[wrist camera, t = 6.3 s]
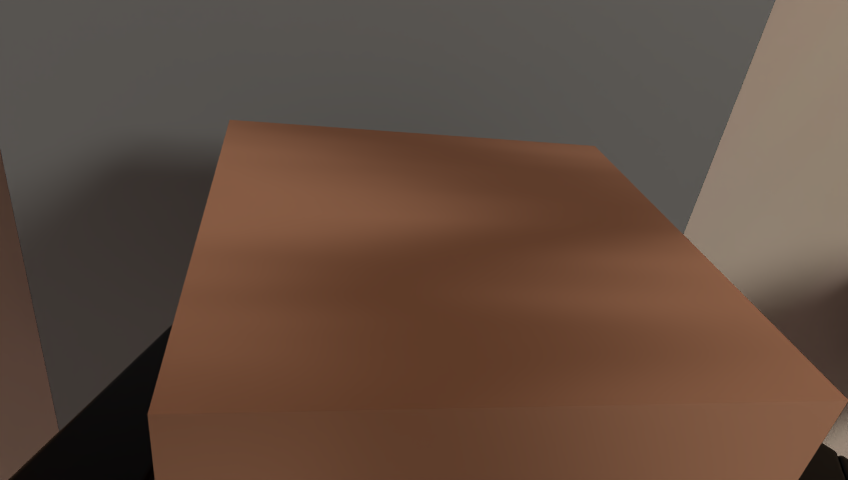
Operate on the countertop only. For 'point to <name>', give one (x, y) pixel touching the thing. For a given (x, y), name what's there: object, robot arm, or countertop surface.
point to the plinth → (314, 121)
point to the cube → (464, 324)
